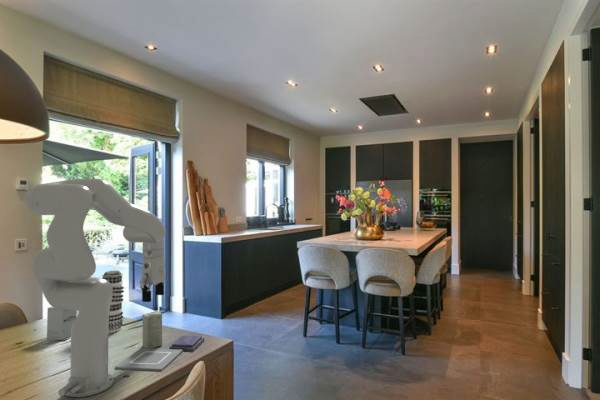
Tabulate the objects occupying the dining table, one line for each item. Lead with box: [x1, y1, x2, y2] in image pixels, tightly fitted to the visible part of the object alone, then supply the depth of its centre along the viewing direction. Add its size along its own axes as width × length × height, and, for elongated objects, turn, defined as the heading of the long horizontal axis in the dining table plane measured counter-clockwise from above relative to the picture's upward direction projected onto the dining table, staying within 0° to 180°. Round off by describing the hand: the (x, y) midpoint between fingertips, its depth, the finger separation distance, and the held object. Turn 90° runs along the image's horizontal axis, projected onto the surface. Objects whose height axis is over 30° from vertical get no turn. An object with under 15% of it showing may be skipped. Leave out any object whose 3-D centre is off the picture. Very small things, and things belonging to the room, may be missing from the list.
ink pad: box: [169, 335, 205, 352], centre depth 137 cm, size 10×9×2 cm
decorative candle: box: [101, 270, 125, 334], centre depth 155 cm, size 9×9×25 cm
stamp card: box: [114, 347, 184, 372], centre depth 124 cm, size 16×16×1 cm
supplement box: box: [46, 306, 78, 341], centre depth 147 cm, size 7×7×13 cm
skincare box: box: [142, 311, 163, 349], centre depth 136 cm, size 6×4×12 cm
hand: (153, 298), depth 137 cm, fingers open, 9 cm apart
